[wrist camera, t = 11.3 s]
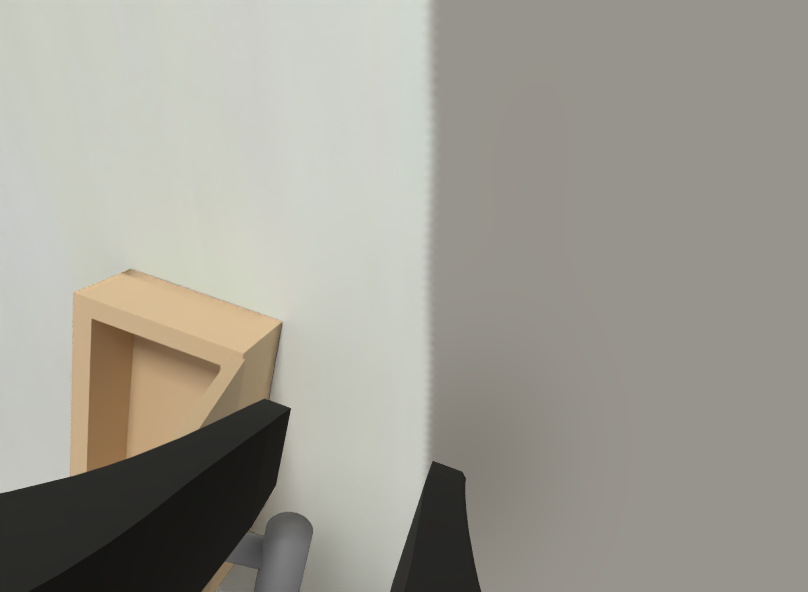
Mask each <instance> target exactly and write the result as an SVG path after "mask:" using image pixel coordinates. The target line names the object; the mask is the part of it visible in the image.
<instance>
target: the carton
mask: <svg viewBox="0 0 808 592" xmlns="http://www.w3.org/2000/svg"><path fill="white" fill-rule="evenodd" d="M281 326H282V321H279V320H276V319H273V318H270V317H268V316H265V315H262V314H259V313H256V312H253V311H250V310H247V309H244V308H241V307H239V306H236V305H233V304H230V303H227V302H224V301H221V300H218V299H215V298H213V297H210V296H207V295H204V294H201V293H198V292H195V291H192V290H189V289H187V288H184V287H181V286H178V285H175V284H172V283H169V282H166V281H163V280H161V279H158V278H155V277H152V276H149V275H146V274H143V273H140V272H137V271H135V270H132V269H130V270H127V271H125V272H122V273H120V274H117V275H115V276H113V277H110V278H108V279H105V280H103V281H100V282H98V283H96V284H93V285H91V286H88V287H86V288H83V289H81V290H78V291H76V292H74V293H73V347H72V402H71V457H70V477H71V476H74V475H78V474H81V473H84V472H88V471H91V470H94V469H97V468H101V467H104V466H107V465H110V464H113V463H116V462H119V461H122V460H125V459H128V458H130V457H133V456H136V455H138V454H141V453H143V452H146V451H148V450H151V449H153V448H156V447H158V446H161V445H163V444H166V443H168V442H169V441H170V440H171V438H172V437H173V436H174V434H175V433H176V432H177V430H178V429H179V427H180V426H181V425H182V423H183V422H184V420H185V419H186V418H187V416H188V415H189V414H190V412H191V411H192V409H193V408H194V407H195V405H196V404H197V403H198V401H199V400H200V398H201V397H202V396H203V394H204V393H205V392H206V390H207V389H208V387H209V386H210V385H211V383H212V382H213V380H214V379H215V378H216V376H217V375H218V374H219V372H220V371H221V369H222V368H223V367H224V365H225V364H226V363H227V361H228V360H229V358H230V357H231V356H234V357H238V358H242V359H245V365H244V372H243V379H242V385H241V392H240V398H239V405H238V410H241V409H243V408H245V407H247V406H249V405H251V404H253V403H256V402H258V401H260V400H262V399H267V400H269V394H270V389H271V383H272V377H273V372H274V366H275V360H276V354H277V349H278V343H279V337H280V332H281ZM233 565H234V563H230V562H224V563H223V565H222V566H221V567H220V569H219V570H218V571H217V572H216V574H215V575H214V576H213V578H212V583H211V589H210V592H215V591H216V589H217V588H218V587H219V585H220V584H221V582H222V581H223V579H224V578H225V576H226V575H227V574H228V572H229V571H230V569H231V568H232V566H233Z"/></svg>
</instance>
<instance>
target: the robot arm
mask: <svg viewBox="0 0 808 592" xmlns="http://www.w3.org/2000/svg"><path fill="white" fill-rule="evenodd" d="M290 411H291V408H289V407H286V406H283V405H281V404H278V403H275V402H273V401H270V400H267V399H262V400H260V401H258V402H256V403H253V404H251V405H249V406H247V407H245V408H243V409H241V410H238V411H236V412H234V413H232V414H230V415H228V416H226V417H224V418H222V419H220V420H218V421H215V422H213V423H211V424H209V425H207V426H205V427H202V428H200V429H198V430H196V431H194V432H191V433H189V434H187V435H185V436H183V437H180V438H178V439H176V440H173V441H171V442H168V443H166V444H163V445H161V446H158V447H156V448H153V449H151V450H148V451H146V452H143V453H141V454H138V455H136V456H133V457H130V458H128V459H125V460H122V461H119V462H116V463H113V464H110V465H107V466H104V467H101V468H97V469H94V470H91V471H88V472H84V473H81V474H78V475H74V476H71V477H67V478H64V479H59V480H55V481H51V482H47V483H43V484H39V485H35V486H30V487H26V488H22V489H18V490H14V491H10V492H5V493H0V592H202V591H203V589H204V588H205V587H206V585H207V584H208V583H209V581H210V580H211V579H212V578H213V576H214V575H215V574H216V572H217V571H218V570H219V569H220V567H221V566H222V565H223V563H224V562H225V561H226V559H227V558H228V557H229V556H230V554H231V553H232V552H233V550H234V549H235V548H236V546H237V545H238V544H239V542H240V541H241V540H242V538H243V537H244V536H245V534H246V533H247V532H248V530H249V529H250V528H251V526H252V525H253V523H254V521H255V520H256V518H257V516H258V515H259V513H260V511H261V510H262V508H263V506H264V505H265V503H266V501H267V500H268V498H269V496H270V494H271V493H272V491H273V489H274V487H275V486H276V482H277V477H278V471H279V466H280V461H281V456H282V451H283V446H284V441H285V436H286V431H287V426H288V421H289V416H290ZM465 481H466V478H465V476H464V474H463V472H461V471H459V470H456V469H453V468H451V467H448V466H445V465H443V464H440V463H437V462H435V461H433V462H432V464H431V467H430V470H429V473H428V476H427V479H426V481H425V484H424V487H423V491H422V494H421V497H420V500H419V503H418V506H417V509H416V512H415V515H414V518H413V521H412V524H411V528H410V531H409V534H408V537H407V540H406V543H405V546H404V549H403V552H402V555H401V558H400V561H399V565H398V568H397V571H396V574H395V577H394V580H393V583H392V587H391V591H390V592H481V589H480V585H479V581H478V577H477V572H476V568H475V563H474V558H473V552H472V547H471V541H470V536H469V529H468V521H467V513H466V500H465Z"/></svg>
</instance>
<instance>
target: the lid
mask: <svg viewBox="0 0 808 592" xmlns="http://www.w3.org/2000/svg"><path fill="white" fill-rule="evenodd" d="M244 365H245V359H242V358H238V357H234V356H231V357H230V358H229V360H228V361H227V363H226V364H225V365H224V367H223V368H222V369H221V371H220V372H219V374H218V375H217V376H216V378H215V379H214V380H213V382H212V383H211V385H210V386H209V387H208V389H207V390H206V392H205V393H204V394H203V396H202V397H201V398H200V400H199V401H198V403H197V404H196V405H195V407H194V408H193V409H192V411H191V412H190V414H189V415H188V416H187V418H186V419H185V420H184V422H183V423H182V425H181V426H180V427H179V429H178V430H177V432H176V433H175V434H174V436H173V437H172V438H171V440H170V441H169V442H171V441H173V440H176V439H178V438H180V437H183V436H185V435H187V434H189V433H191V432H194V431H196V430H198V429H200V428H202V427H205V426H207V425H209V424H211V423H213V422H215V421H218V420H220V419H222V418H224V417H226V416H228V415H230V414H232V413H234V412H236V411H238V405H239V398H240V392H241V385H242V379H243V372H244ZM312 535H313V528H312V525H311V523H310V522H309V520H308V519H307V518H305V517H304V516H302V515H300V514H297V513H293V512H284V513H280V514H277V515H275V516H274V517H272V518H271V519H270V520H269V522H268V524H267V526H266V532H265V536H262V535H258V534H253V533H249V532H247V533H246V534H245V536H244V537H243V538H242V540H241V541H240V542H239V544H238V545H237V546H236V548H235V549H234V550H233V552H232V553H231V554H230V556H229V557H228V558H227V559H226V561H225V562H230V563H234V564H238V565H243V566H247V567H251V568H255V569H258V573H257V578H256V583H255V589H254V592H299V590H300V586H301V581H302V577H303V573H304V569H305V564H306V560H307V556H308V552H309V547H310V543H311V539H312ZM211 583H212V579H211V580H210V581H209V583H208V584H207V585H206V587H205V588H204V589H203V591H202V592H210V589H211Z"/></svg>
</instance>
